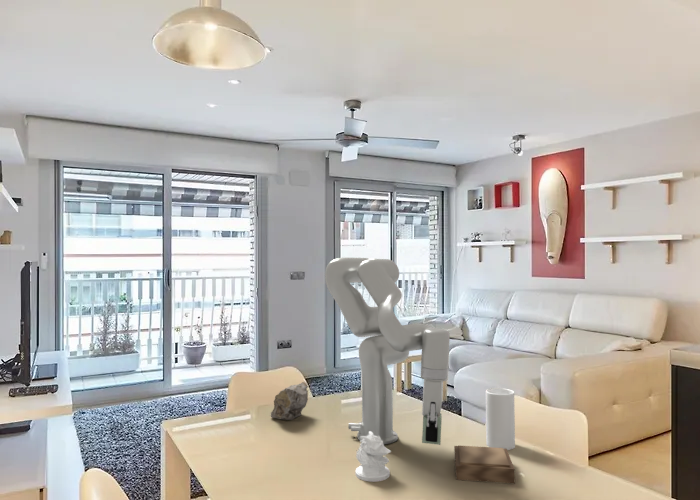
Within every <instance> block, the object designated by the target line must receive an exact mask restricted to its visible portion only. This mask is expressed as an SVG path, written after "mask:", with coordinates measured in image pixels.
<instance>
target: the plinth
mask: <svg viewBox="0 0 700 500" xmlns="http://www.w3.org/2000/svg"><path fill="white" fill-rule="evenodd" d="M453 450H454V452H453V453H454V457H453V458H454V467H455V469H454V470H455V474H456V475H455V477H456V480H458V481H468V482H469V481H471V482H485V483H487V482H488V483H499V484H500V483H502V484H515V483H516V479H515V478H516V476H515V475H516V474H515V473H516V472H515V471H516V470H515V467H514V464H513V461H512V460H511V456H510V453H509V452H508V451H509V450H507V449H503V448H494V447H489V446H475V445H474V446H473V445H472V446H470V445H460V444H459V445H454V449H453Z"/></svg>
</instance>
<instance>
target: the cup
mask: <svg viewBox="0 0 700 500" xmlns="http://www.w3.org/2000/svg"><path fill="white" fill-rule="evenodd" d="M515 415H516V414H515V391H514V390H512V389H508V388H503V387H491V388H487V389H486V390H485V433H486V434H485V437H486V439H485V440H486V441H485V442H486V444H485V445H486V447H494V448H503V449H507V451H510V450H513V449H515V448H516V432H515V431H516V421H515V420H516V419H515Z"/></svg>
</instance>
